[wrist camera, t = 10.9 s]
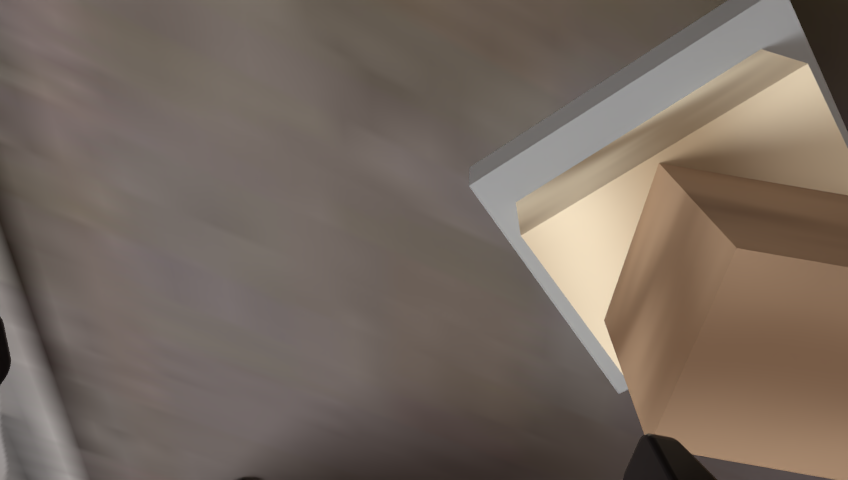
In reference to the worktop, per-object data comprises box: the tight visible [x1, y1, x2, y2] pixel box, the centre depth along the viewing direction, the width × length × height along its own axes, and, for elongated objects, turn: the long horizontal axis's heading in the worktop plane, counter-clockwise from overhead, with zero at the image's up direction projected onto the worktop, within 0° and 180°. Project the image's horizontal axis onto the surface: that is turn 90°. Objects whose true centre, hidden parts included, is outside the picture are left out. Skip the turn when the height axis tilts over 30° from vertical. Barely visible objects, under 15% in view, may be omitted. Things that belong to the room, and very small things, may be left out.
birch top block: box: [516, 49, 848, 374], centre depth 17 cm, size 8×8×2 cm
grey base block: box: [469, 0, 848, 394], centre depth 19 cm, size 10×10×2 cm
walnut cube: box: [604, 163, 848, 480], centre depth 14 cm, size 5×5×5 cm
